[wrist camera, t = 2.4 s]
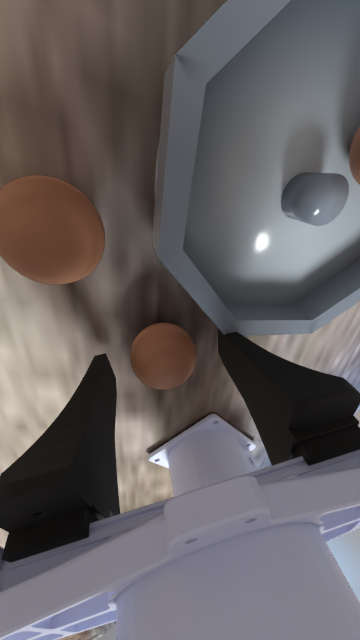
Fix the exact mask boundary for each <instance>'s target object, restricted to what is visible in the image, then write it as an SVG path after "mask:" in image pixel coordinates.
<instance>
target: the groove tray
mask: <svg viewBox="0 0 360 640" xmlns="http://www.w3.org/2000/svg"><path fill="white" fill-rule="evenodd" d="M359 126H360V0H227V1H226V2H225V3H224V4H223V5H222V6H221V7H220V8H219V9H218V10H217V11H216V12H215V13H214V14H213V15H212V16H211V17H210V19H209V20H208V21H207V22H206V23H205V24H204V25H203V26H202V27H201V28H200V29H199V30H198V31H197V32H196V33H195V34H194V35H193V36H192V37H191V38H190V39H189V40H188V42H187V43H186V44H185V45H184V46H183V47H182V48H181V49H180V50H179V51H178V52H177V53H176V54H175V56H174V57H173V59H172V61H171V63H170V65H169V67H168V69H167V71H166V72H165V74H164V88H163V102H162V115H161V129H160V141H159V145H158V150H157V158H156V166H155V186H154V198H155V210H154V224H153V238H152V247H153V249H154V251H155V253H156V256H157V258H158V259H159V260H160V261H161V262H162V263H163V265H164V266H165V267H166V268H167V269H168V270H169V271H170V273H171V274H172V275H173V276H174V277H175V278H176V280H177V281H178V282H179V283H180V284H181V285H182V287H183V288H184V289H185V290H186V291H187V292H188V293H189V295H190V296H191V297H192V298H193V299H194V300H195V302H196V303H197V304H198V305H199V306H200V307H201V309H202V310H203V311H204V312H205V313H206V314H207V315H208V317H209V318H210V319H211V320H212V321H213V322H214V324H215V325H216V326H217V327H218V328H219V329H220V331H221V332H222V333H223V334H224V335H225V334H228V333H232V332H236V331H237V332H238V333H240V334H241V335H278V334H311V333H313V332H314V331H316V330H317V329H319V328H320V327H322V326H323V325H325V324H326V323H328V322H329V321H331V320H332V319H334V318H335V317H337V316H338V315H340V314H341V313H343V312H344V311H346V310H347V309H349V308H350V307H352V306H353V305H355V304H356V303H358V302H359V301H360V185H359V184H358V183H357V182H356V181H355V179H354V178H353V176H352V173H351V170H350V166H349V153H350V147H351V144H352V140H353V138H354V135H355V133H356V131H357V129H358V127H359Z"/></svg>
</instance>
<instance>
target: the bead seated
mask: <svg viewBox="0 0 360 640" xmlns="http://www.w3.org/2000/svg"><path fill="white" fill-rule="evenodd" d="M349 166H350V170H351V173H352V176H353V178H354V179H355V181H356V182H357V183H358V184H359V185H360V126H359V127H358V129H357V131H356V133H355V135H354V138H353V140H352V144H351V147H350V153H349Z"/></svg>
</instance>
